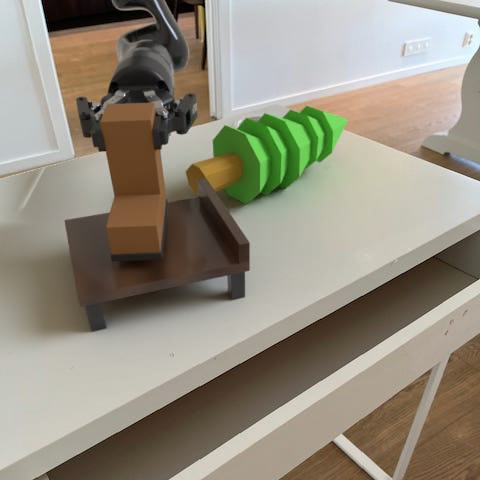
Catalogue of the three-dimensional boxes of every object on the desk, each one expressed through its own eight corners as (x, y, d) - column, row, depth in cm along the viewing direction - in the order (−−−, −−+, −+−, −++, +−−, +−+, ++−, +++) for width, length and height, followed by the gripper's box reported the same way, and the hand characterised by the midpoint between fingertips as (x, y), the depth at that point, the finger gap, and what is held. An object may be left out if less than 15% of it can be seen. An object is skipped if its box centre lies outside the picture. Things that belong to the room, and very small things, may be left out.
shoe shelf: (88, 335, 53) (72, 278, 49) (73, 254, 65) (59, 201, 60) (249, 298, 58) (249, 242, 53) (209, 228, 69) (206, 177, 64)
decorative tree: (178, 121, 66) (338, 67, 79) (171, 184, 76) (314, 127, 89) (231, 179, 63) (389, 113, 76) (216, 238, 72) (358, 170, 86)
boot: (111, 262, 53) (87, 149, 45) (124, 205, 62) (106, 103, 54) (162, 259, 53) (146, 147, 45) (167, 204, 62) (155, 102, 54)
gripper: (78, 56, 61) (46, 105, 49) (198, 52, 62) (197, 100, 49) (91, 119, 66) (65, 179, 53) (202, 115, 67) (202, 174, 54)
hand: (128, 141), depth 51 cm, fingers closed on boot, 5 cm apart
